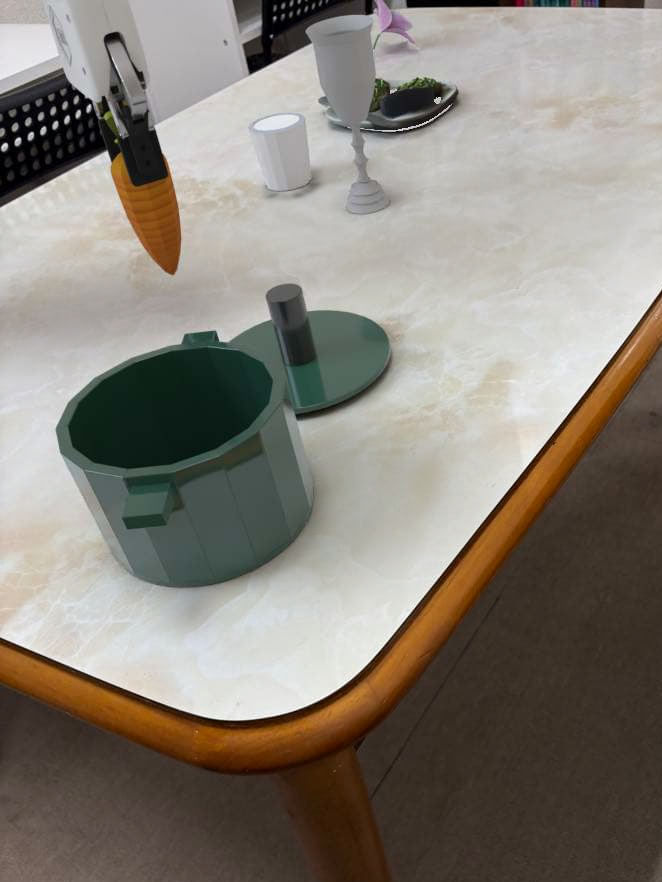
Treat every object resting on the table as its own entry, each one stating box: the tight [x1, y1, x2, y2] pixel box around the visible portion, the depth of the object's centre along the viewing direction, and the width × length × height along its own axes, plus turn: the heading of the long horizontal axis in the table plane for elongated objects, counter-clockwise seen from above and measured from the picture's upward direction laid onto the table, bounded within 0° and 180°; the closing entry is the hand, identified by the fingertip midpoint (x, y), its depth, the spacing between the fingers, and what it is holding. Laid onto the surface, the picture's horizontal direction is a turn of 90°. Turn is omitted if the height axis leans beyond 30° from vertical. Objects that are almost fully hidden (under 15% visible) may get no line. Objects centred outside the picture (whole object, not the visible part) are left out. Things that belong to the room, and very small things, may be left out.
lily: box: [372, 0, 420, 51], centre depth 139 cm, size 12×12×10 cm
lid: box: [228, 282, 392, 415], centre depth 71 cm, size 16×16×7 cm
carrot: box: [103, 111, 182, 276], centre depth 76 cm, size 5×5×15 cm
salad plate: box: [317, 76, 460, 134], centre depth 118 cm, size 19×18×5 cm
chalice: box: [305, 14, 390, 215], centre depth 91 cm, size 7×7×18 cm
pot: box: [55, 330, 314, 588], centre depth 58 cm, size 15×20×10 cm
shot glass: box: [247, 112, 313, 192], centre depth 103 cm, size 7×7×7 cm
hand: (139, 170), depth 75 cm, fingers closed on carrot, 4 cm apart
